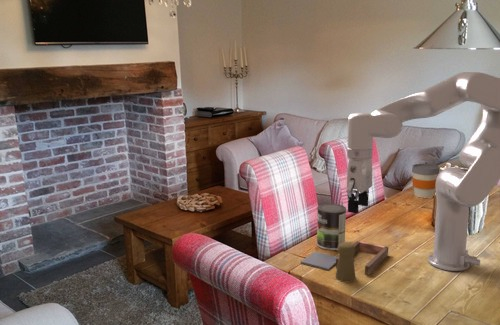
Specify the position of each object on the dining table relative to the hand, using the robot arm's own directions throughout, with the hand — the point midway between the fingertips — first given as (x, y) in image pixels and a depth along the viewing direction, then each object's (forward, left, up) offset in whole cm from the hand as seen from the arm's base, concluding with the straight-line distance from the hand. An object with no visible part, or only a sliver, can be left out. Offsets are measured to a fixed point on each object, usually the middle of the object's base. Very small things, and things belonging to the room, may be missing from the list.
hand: (358, 208), depth 143 cm
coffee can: (+15, -13, -20) cm, 28 cm away
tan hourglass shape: (0, +8, -20) cm, 22 cm away
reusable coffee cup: (+3, -93, -20) cm, 95 cm away
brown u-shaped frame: (0, -5, -20) cm, 21 cm away
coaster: (+12, +2, -20) cm, 23 cm away
